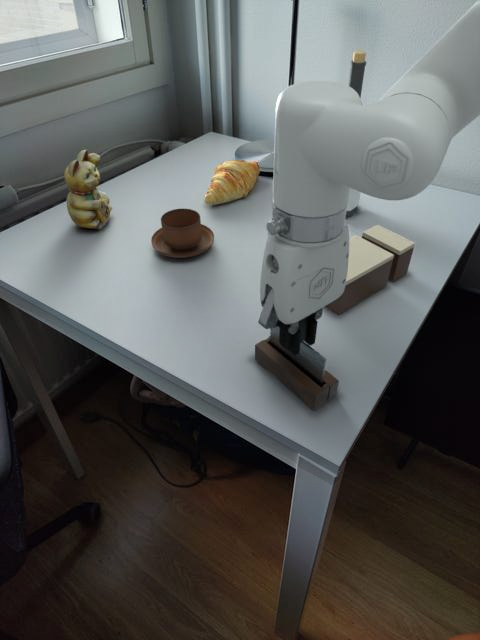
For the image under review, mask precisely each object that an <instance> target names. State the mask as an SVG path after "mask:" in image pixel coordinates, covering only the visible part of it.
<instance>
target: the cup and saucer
mask: <svg viewBox="0 0 480 640" xmlns="http://www.w3.org/2000/svg"><path fill="white" fill-rule="evenodd" d="M160 223H161V227H160V228H159V229H157V230H156V231H155V232H154V233H153V235H152V236H151V239H150V240H151V241H150V242H151V246H152V248H153V249H154V250H155V251H156V252H157V253H159V254H161V255H163V256H166V257H169V258H174V259H175V258H176V259H184V258H185V259H186V258H192V257H195V256H198V255H201V254H202V253H204V252H206V251H207V250H208V249H210V248H211V246H212V245H213V243H214V241H215V234H214V232H213V230H212V229H211V228H210V227H208V226H206V225H205V224H203V223H202V221H201V214H200V213H199V212H198V211H196V210H194V209H190V208H175V209H170V210H169V211H166V212H164V214H162V215H161V217H160Z"/></svg>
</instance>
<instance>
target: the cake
mask: <svg viewBox="0 0 480 640" xmlns="http://www.w3.org/2000/svg"><path fill="white" fill-rule="evenodd" d="M393 257H394V255H393V254H392V253H390V252H388V251H386V250H384V249H382V248H380V247H378V246H376V245H374V244H372V243H371V242H369V241H367V240H365V239H363V238H362V236H359V235H357V234H356V235H354V236H352V237H349V261H348V271H347V279H346V285H345V289H344V292H343V294H342V295H341V296H340V297H339V298H337V299H336V300H334V301H333V302H331V303H329V304H328V305H326V306H325V307H326V308H328V309H329V310H331V311H332V312H333V313H335V314H337V315H338V316H340V315H342V314H343V313H344V312H347V311H348V310H349V309H351V308H353V307H354V306H356V305H357V304H359V303H362V301H364V300H366V299H368V298H369V297H371V296H373V295H374V294H376V293H377V292H380V291H382V290H383V289H385V288H386V287H387V286H388V282H389V280H388V278H389V274H390V270H391V266H392V262H393Z"/></svg>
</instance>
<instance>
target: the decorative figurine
mask: <svg viewBox="0 0 480 640" xmlns="http://www.w3.org/2000/svg"><path fill="white" fill-rule="evenodd" d="M100 160H101V156H100V155H99V154H97V153H94V152H92V153H89V152H88V149H83V150H81V151H80V152H79V153H78V154H77V157H76V159H73V160H72V161H71V162H70V163H69V164H68V165H67V167H66V168H65V169H64V173H63V177H64V181H65V183H66V184H67V186H68V191H69V192H68V194H67V196H66V208H67V213H68V215H69V217H70V219H71V221H72V222H73V223H74V224H75V225H77V226H78V227H81V228H85V229H91V230H99V231H100V230H102V229H103V227H105V226H106V224H107V223H108V222H109V221H110V220H111V212H112V210H113V206H112V205H110V197H109V196H108V195H107V193H106V192H104V191H100V190H99V189H98V186H99V184H100V183H101V175H100V172H99V170H98V168H97V166H96V165H97V164H98V163H100Z"/></svg>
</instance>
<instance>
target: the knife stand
mask: <svg viewBox="0 0 480 640" xmlns="http://www.w3.org/2000/svg"><path fill="white" fill-rule="evenodd" d="M254 360H255V361H256V362H258V364H260V366H262V367H263V368H264V369H265V370H266V371H267V372H269V373H270V374H271V375H272V376H273V377H274V378H276V379H277V380H278V381H279V382H280V383H281V384H282V385H284V387H286V388H287V389H288V390H289V391H290V392H291V393H293V394H294V395H295V396H296V397H297V398H298V399H299V400H300V401H301V402H303V403H304V404H305V405H306V406H307V407H308V408H309V409H311V411H313V412H315V411H316V410H318V409H319V408H321V407H322V406H323V405H324V404H325V403H326V402H329V401H331V400H332V399H333V398H335V397H336V396H337V393H338V388H339V382H340V380H339V379H338V378H336V377H335V376H334V375H333V374H332V373H330V372H329V371H328V370H326V369H325V372H324V379H323V385H322V387H320V386H319V385H318V384H316V383H315V382H314V381H313V380H311V379H310V378H309V377H308V376H307V375H305V374H304V373H303V372H302V371H301V370H299V369H298V368H297V367H296V366H295V365H293V364H292V363H291V362H290V361H289V360H287V359H286V358H285V357H284V356H282V355H281V354H280V353H279V352H278V351H276V350H275V349H274V348H273V347H272V346H270V335H269V336H268V337H267V338H265V339H262V340H260V341H258V342H257V343H255V344H254Z"/></svg>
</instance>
